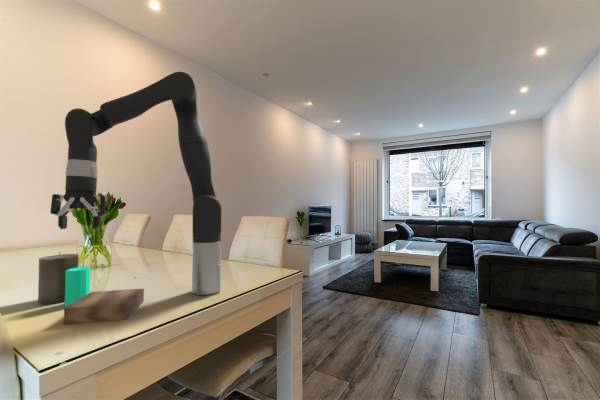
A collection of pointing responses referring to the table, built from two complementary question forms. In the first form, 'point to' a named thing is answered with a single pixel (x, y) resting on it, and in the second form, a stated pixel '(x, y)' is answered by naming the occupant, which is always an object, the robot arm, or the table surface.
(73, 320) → the walnut stand
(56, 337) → the table surface
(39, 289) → the pillar candle
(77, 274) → the teal green tall block
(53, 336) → the table surface
